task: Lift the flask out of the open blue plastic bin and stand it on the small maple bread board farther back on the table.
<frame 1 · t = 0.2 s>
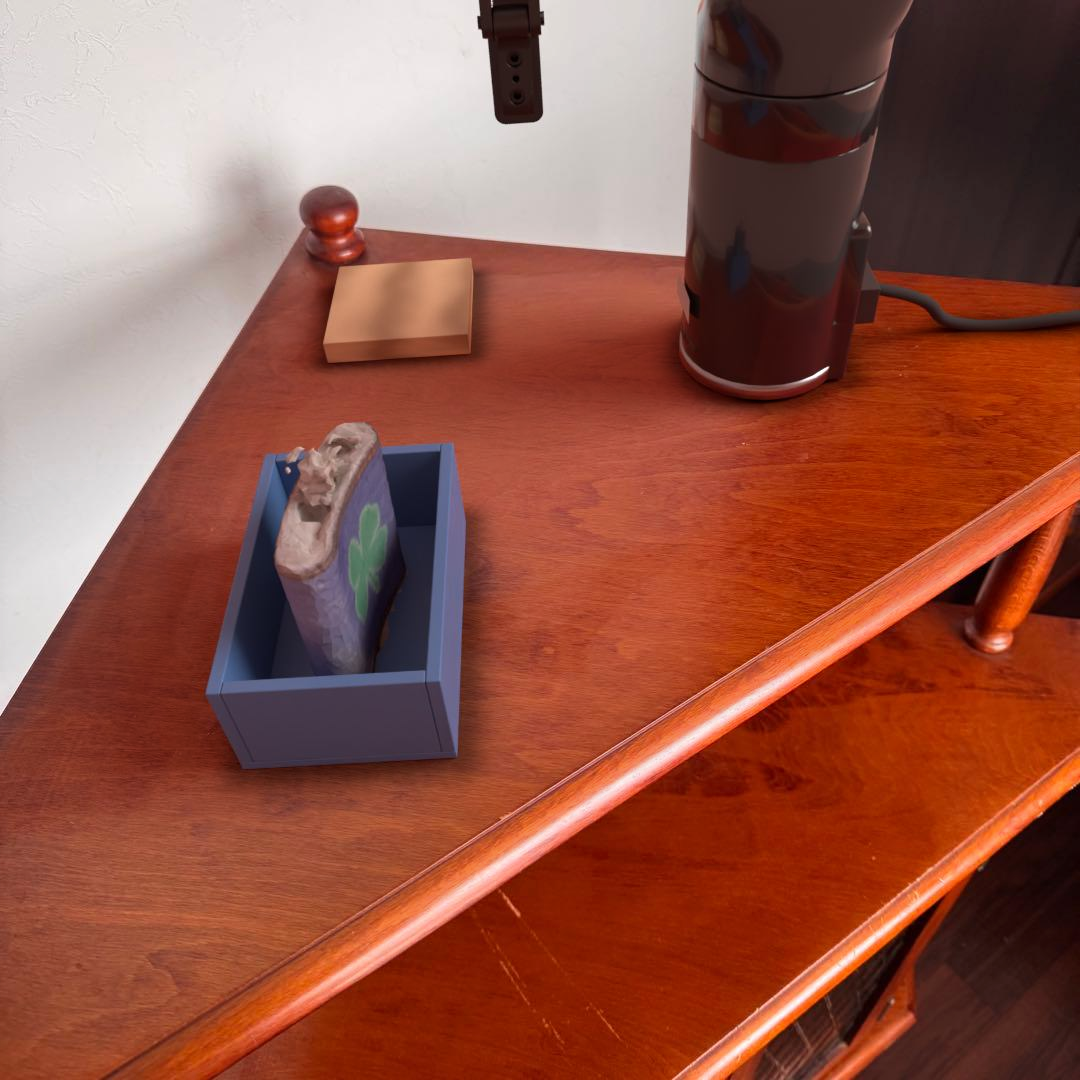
hand: (518, 82, 49), 17 cm above the dresser, tool pointing down, fingers open, 8 cm apart
bin: (365, 633, 48), on the dresser
board: (403, 318, 66), on the dresser
flask: (364, 629, 48), resting in bin
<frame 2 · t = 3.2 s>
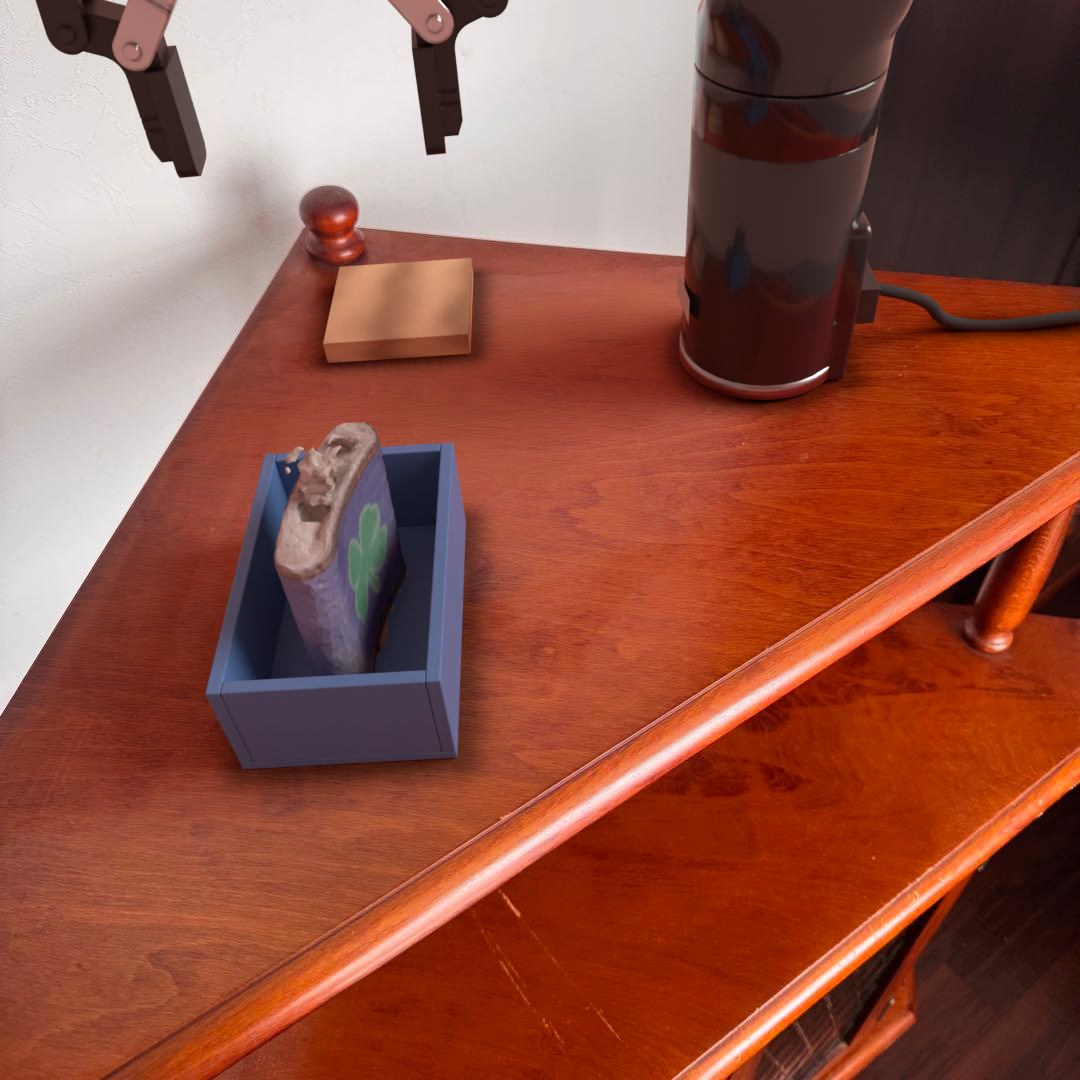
hand: (316, 156, 36), 21 cm above the dresser, tool pointing down, fingers open, 8 cm apart
nothing on the dresser moved.
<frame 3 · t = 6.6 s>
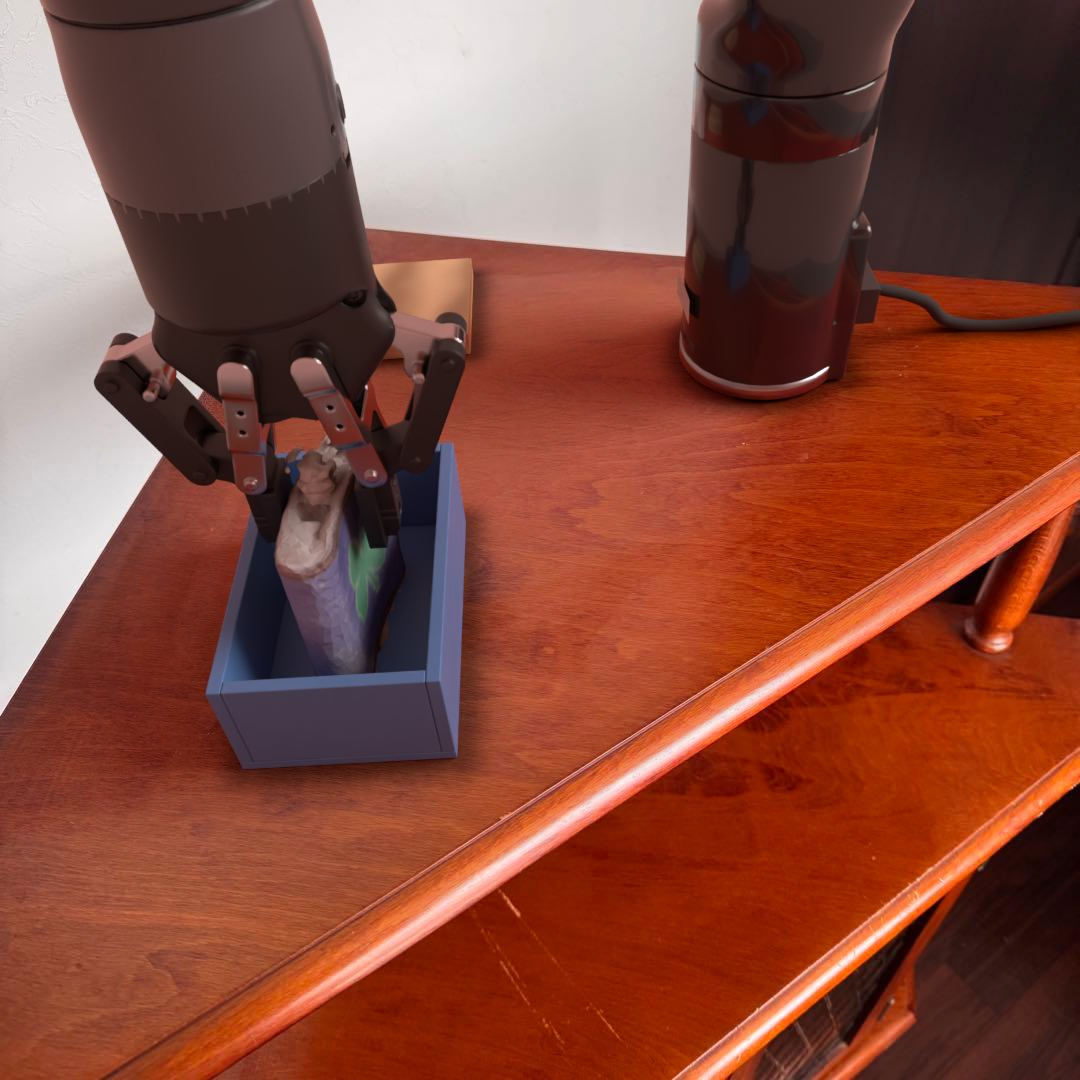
hand: (337, 535, 43), 7 cm above the dresser, tool pointing down, fingers closed on flask, 3 cm apart
flask: (364, 629, 48), resting in bin, touching gripper
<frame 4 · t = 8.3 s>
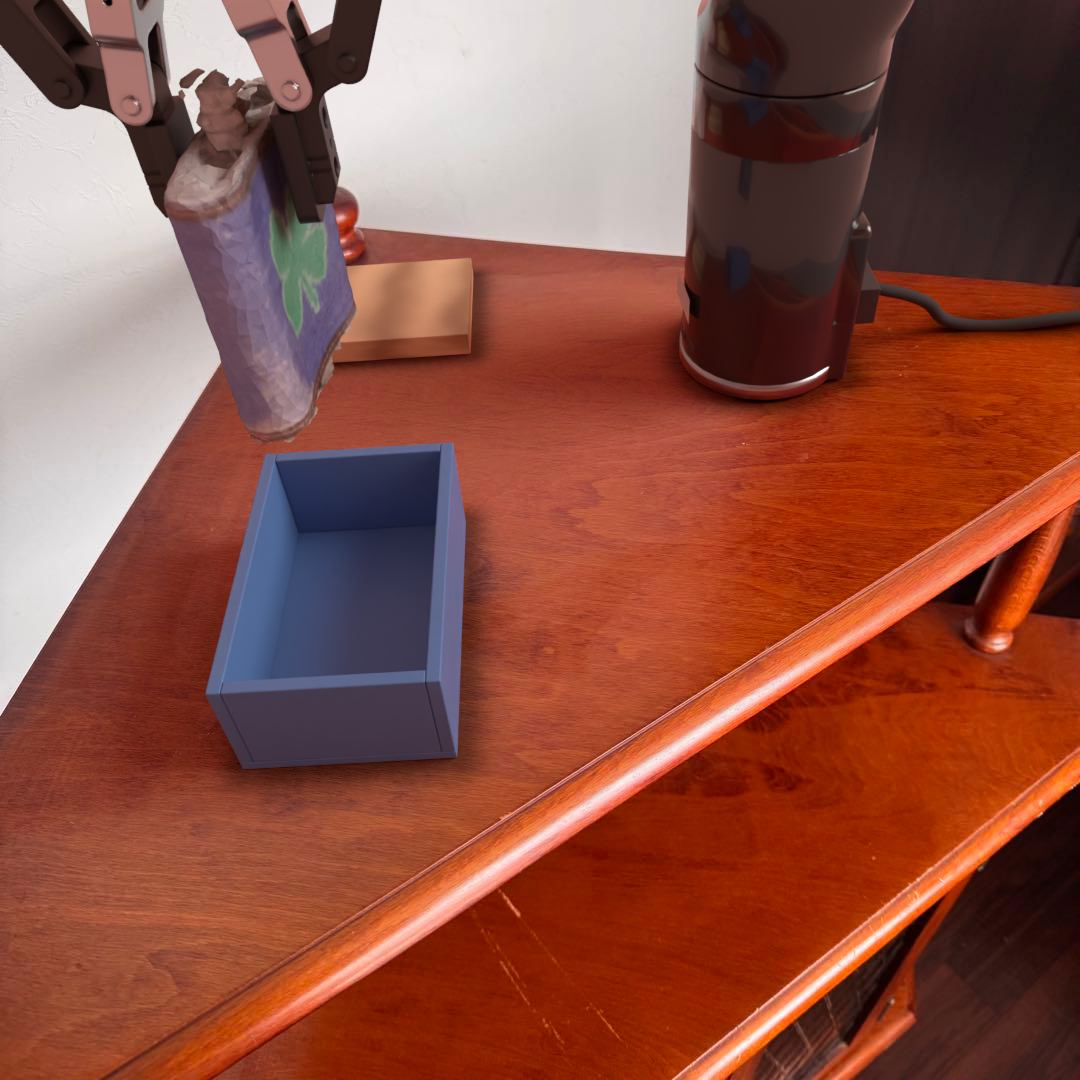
hand: (258, 214, 33), 21 cm above the dresser, tool pointing down, fingers closed on flask, 3 cm apart
flask: (303, 370, 38), point 15 cm above the dresser, touching gripper
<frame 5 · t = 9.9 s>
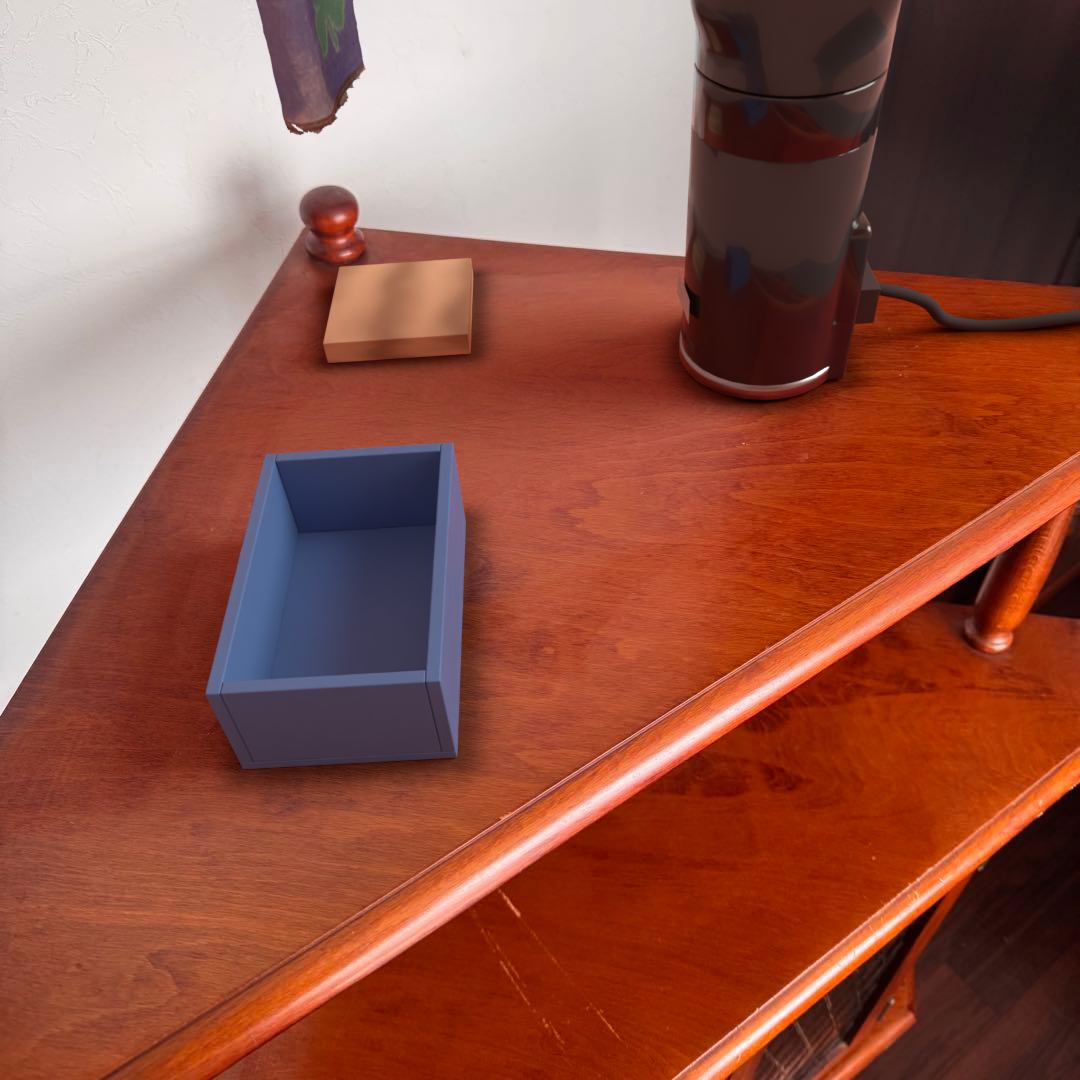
flask: (326, 101, 52), point 16 cm above the dresser, touching gripper
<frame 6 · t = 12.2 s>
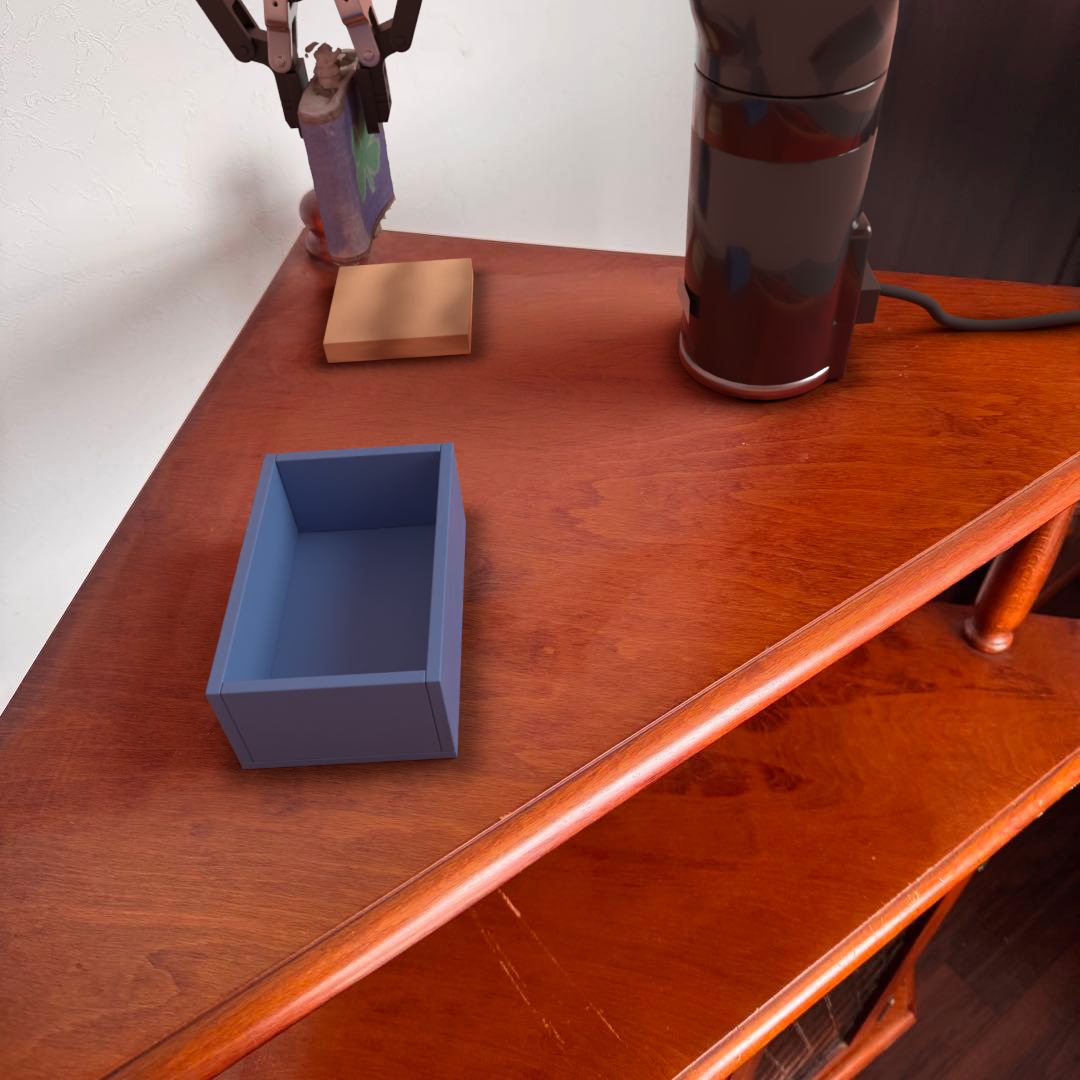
hand: (342, 128, 57), 13 cm above the dresser, tool pointing down, fingers closed on flask, 3 cm apart
flask: (362, 230, 62), point 6 cm above the dresser, touching gripper
when the fingers open (8 cm above the dresser, at t = 13.7 s): flask stays where it is, resting on board.
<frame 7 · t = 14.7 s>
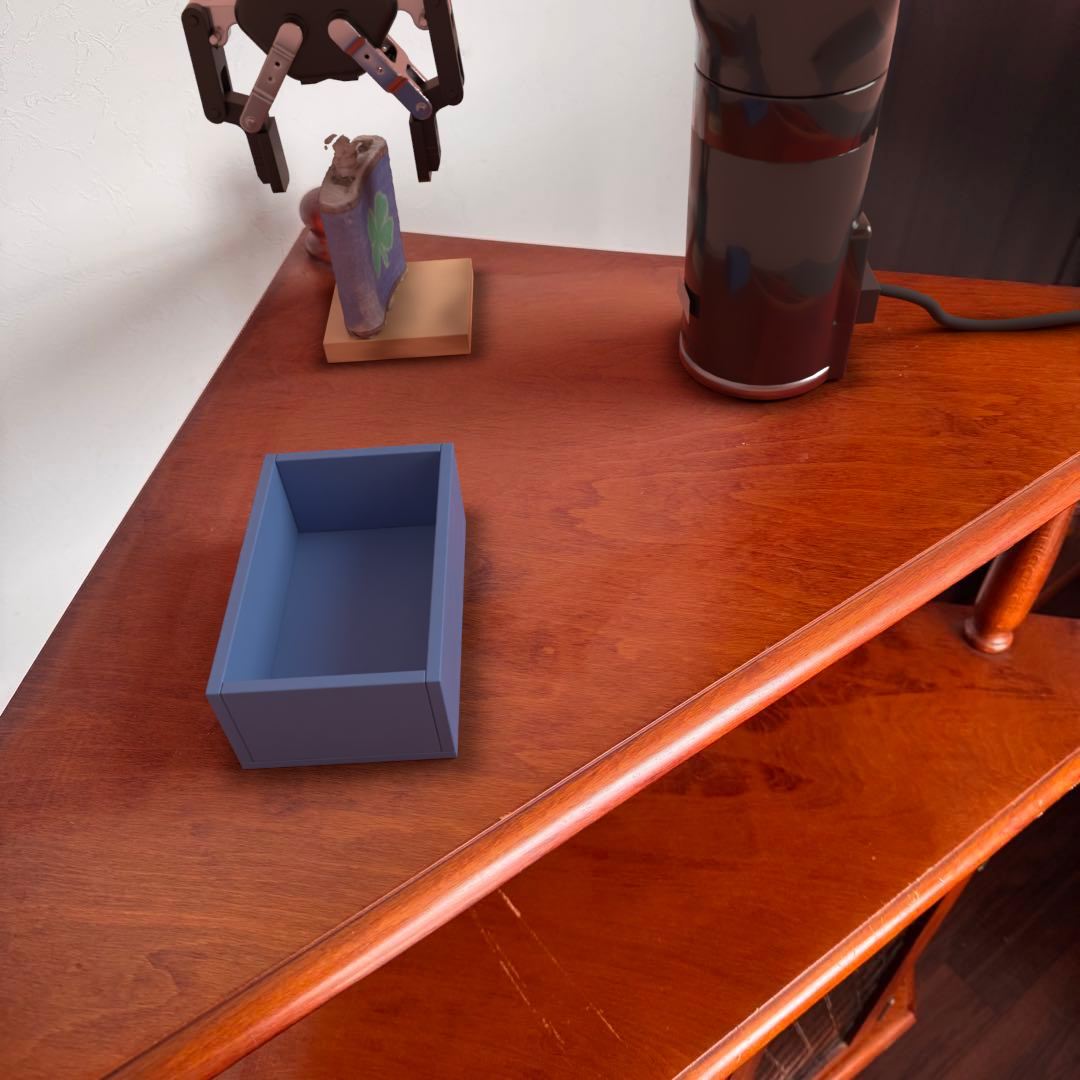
hand: (354, 181, 59), 10 cm above the dresser, tool pointing down, fingers open, 8 cm apart
flask: (377, 301, 65), point 1 cm above the dresser, touching board
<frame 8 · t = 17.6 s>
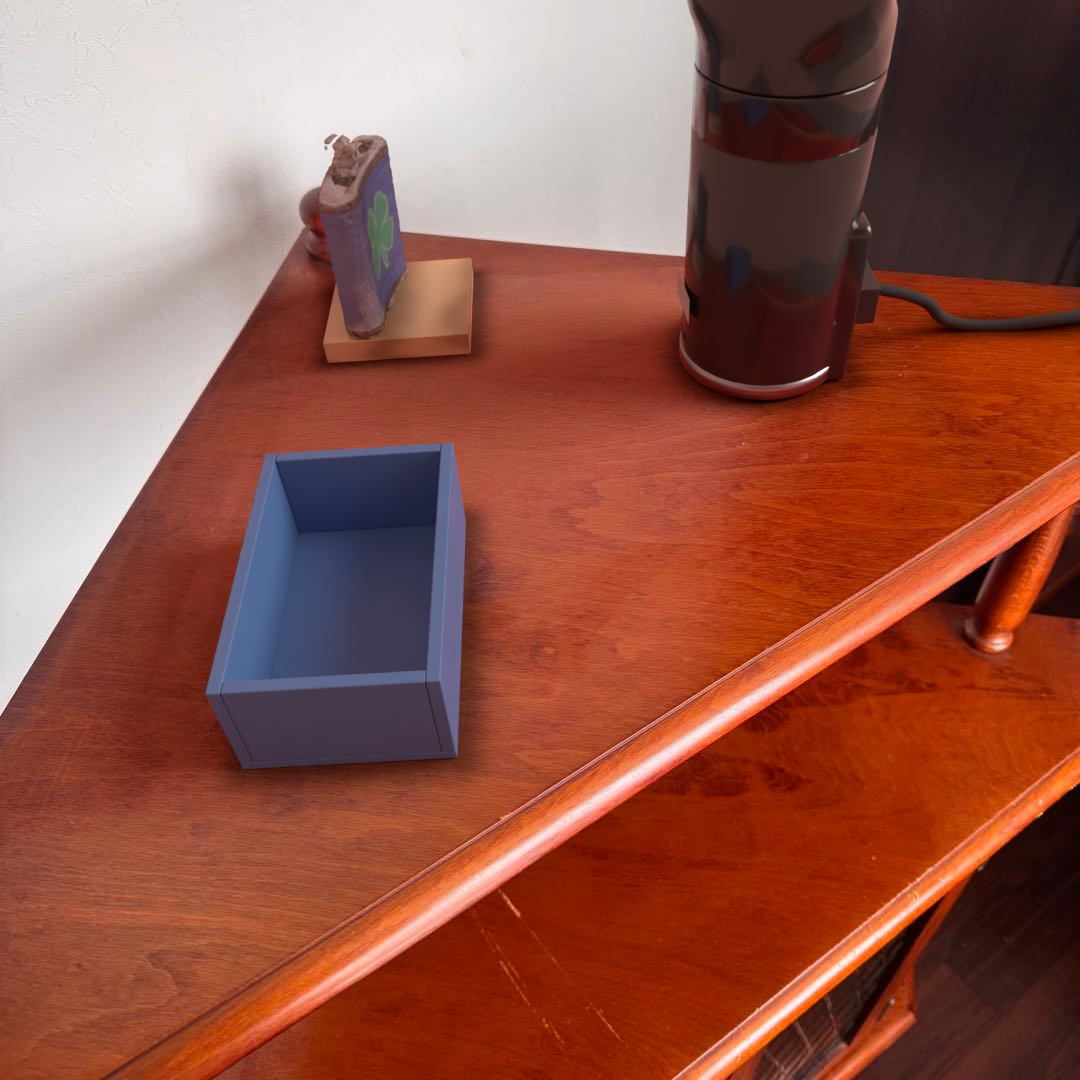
nothing on the dresser moved.
at the end: flask inside the target area on the board (1.5 cm from its centre), point 1.3 cm above the board's base; flask tilted 0°; flask touching board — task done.
